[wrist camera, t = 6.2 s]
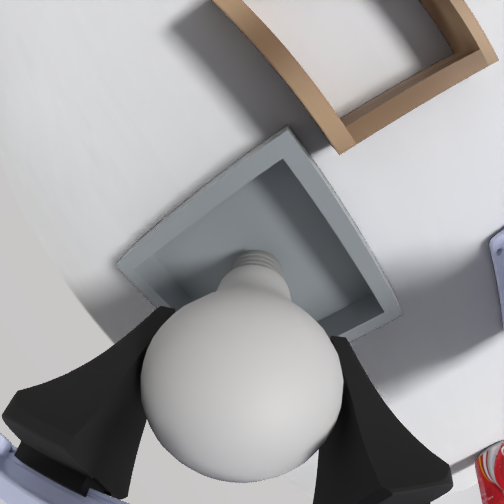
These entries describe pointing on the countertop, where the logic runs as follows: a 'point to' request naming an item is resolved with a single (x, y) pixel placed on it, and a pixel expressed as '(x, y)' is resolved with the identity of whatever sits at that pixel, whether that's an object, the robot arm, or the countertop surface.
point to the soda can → (491, 474)
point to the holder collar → (391, 101)
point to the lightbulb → (242, 378)
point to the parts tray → (268, 241)
